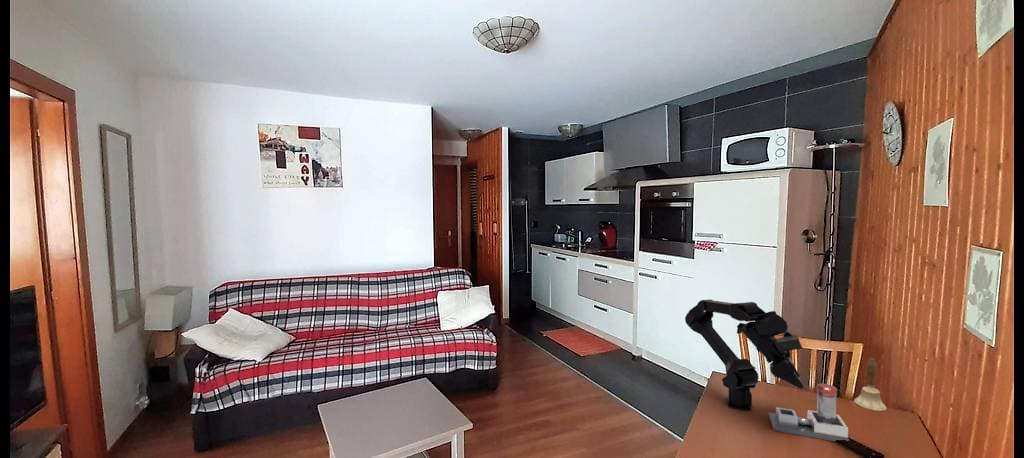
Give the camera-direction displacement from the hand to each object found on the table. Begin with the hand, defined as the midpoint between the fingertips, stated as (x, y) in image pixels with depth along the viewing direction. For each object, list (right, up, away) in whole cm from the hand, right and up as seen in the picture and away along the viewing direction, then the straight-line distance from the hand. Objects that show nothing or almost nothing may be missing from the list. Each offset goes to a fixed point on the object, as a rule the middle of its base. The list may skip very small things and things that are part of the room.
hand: (800, 382), depth 124 cm
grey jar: (+5, -12, -4) cm, 14 cm away
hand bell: (+31, -12, +11) cm, 35 cm away
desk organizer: (0, -13, -2) cm, 13 cm away
